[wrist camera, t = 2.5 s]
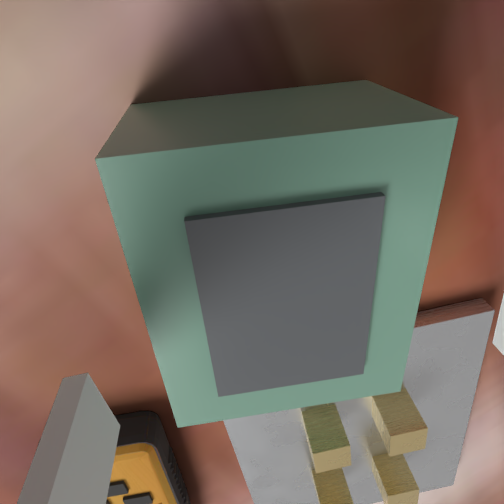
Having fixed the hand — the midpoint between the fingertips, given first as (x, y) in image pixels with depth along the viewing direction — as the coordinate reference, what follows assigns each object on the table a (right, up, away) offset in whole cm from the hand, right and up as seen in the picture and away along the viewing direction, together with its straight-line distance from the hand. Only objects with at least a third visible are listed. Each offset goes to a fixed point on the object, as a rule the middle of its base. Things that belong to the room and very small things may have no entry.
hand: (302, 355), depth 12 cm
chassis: (+6, -11, +18) cm, 22 cm away
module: (-1, +5, +7) cm, 9 cm away
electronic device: (-11, -14, +18) cm, 26 cm away
